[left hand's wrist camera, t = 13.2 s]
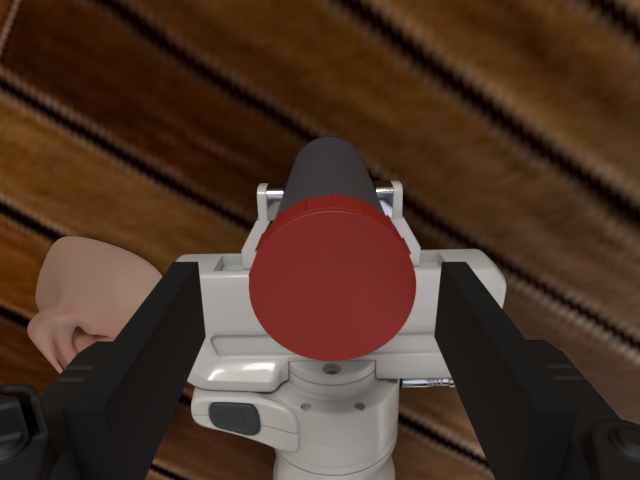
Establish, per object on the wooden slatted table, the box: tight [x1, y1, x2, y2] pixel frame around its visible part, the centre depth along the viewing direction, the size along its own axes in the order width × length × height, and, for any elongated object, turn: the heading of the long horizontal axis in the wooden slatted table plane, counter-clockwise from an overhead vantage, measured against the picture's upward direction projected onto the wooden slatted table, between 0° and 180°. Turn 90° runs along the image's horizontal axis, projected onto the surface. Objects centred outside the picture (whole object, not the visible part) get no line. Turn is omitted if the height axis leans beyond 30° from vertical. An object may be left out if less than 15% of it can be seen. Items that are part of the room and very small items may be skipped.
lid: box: [249, 193, 416, 361], centre depth 16 cm, size 6×6×2 cm
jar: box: [275, 137, 386, 219], centre depth 24 cm, size 5×5×18 cm
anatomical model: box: [27, 236, 163, 374], centre depth 34 cm, size 13×4×12 cm
